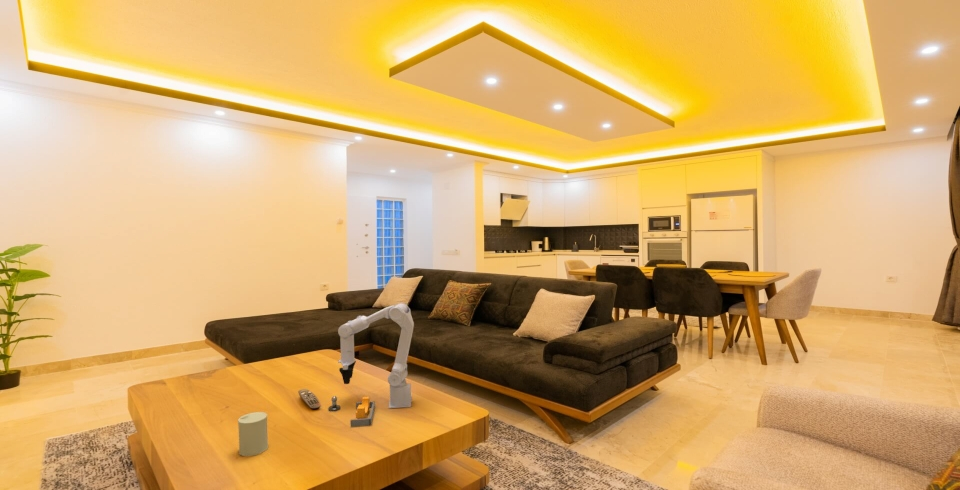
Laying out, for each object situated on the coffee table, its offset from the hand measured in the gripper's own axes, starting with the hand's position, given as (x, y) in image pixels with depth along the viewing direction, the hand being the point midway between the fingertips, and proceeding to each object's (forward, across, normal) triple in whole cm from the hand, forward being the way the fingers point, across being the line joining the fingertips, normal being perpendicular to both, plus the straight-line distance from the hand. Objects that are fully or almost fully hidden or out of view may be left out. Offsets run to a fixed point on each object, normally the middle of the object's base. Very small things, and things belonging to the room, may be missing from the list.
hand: (348, 380), depth 193 cm
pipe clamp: (+10, +17, +8) cm, 21 cm away
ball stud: (+10, +6, -5) cm, 13 cm away
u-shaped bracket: (+10, +16, +8) cm, 20 cm away
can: (+10, +37, -27) cm, 47 cm away
